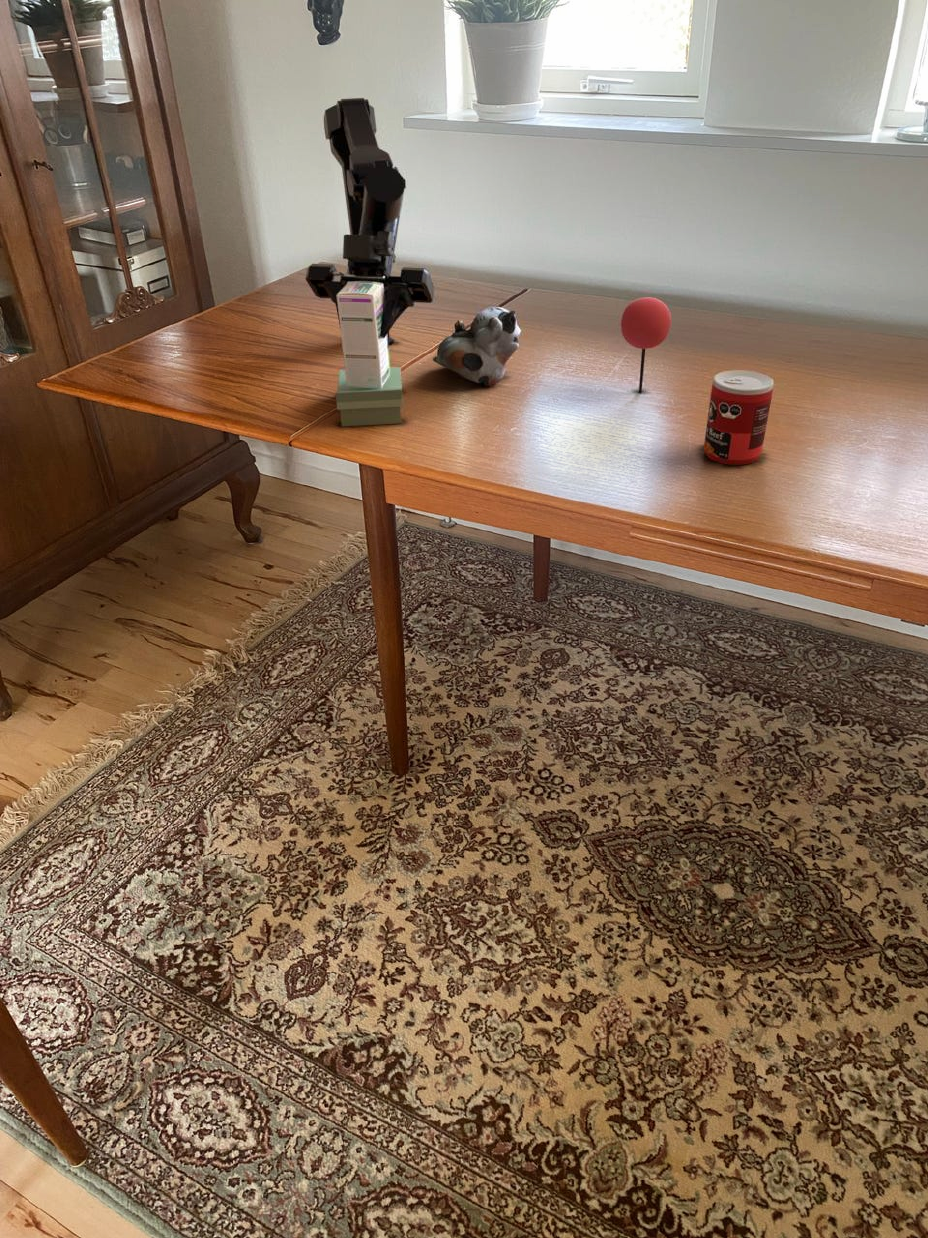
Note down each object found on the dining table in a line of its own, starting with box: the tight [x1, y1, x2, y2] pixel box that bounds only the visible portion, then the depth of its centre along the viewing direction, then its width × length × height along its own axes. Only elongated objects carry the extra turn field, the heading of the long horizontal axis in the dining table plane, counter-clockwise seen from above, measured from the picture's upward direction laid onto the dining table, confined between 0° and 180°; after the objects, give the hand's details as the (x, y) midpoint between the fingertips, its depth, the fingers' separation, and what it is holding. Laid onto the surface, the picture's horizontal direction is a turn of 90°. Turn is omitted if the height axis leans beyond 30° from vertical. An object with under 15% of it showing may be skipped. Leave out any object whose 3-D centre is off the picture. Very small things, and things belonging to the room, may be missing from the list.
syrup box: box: [337, 281, 391, 389], centre depth 139 cm, size 6×6×14 cm
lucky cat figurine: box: [432, 306, 522, 387], centre depth 155 cm, size 15×12×14 cm
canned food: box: [703, 369, 775, 466], centre depth 128 cm, size 8×8×11 cm
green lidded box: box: [335, 366, 404, 427], centre depth 146 cm, size 10×14×6 cm
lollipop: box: [620, 296, 672, 393], centre depth 147 cm, size 8×8×15 cm
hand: (362, 335), depth 138 cm, fingers closed on syrup box, 6 cm apart
